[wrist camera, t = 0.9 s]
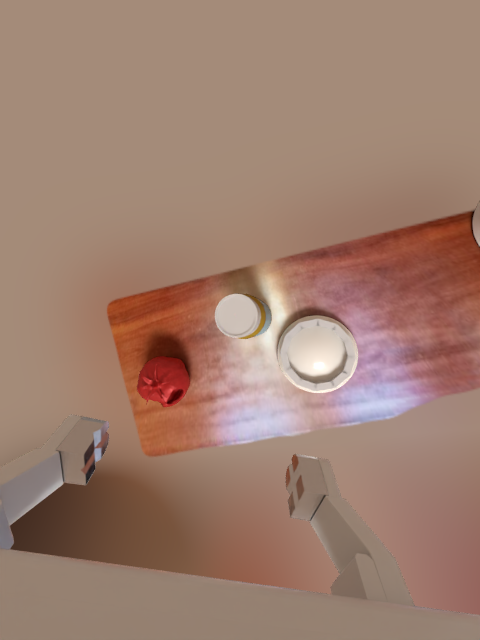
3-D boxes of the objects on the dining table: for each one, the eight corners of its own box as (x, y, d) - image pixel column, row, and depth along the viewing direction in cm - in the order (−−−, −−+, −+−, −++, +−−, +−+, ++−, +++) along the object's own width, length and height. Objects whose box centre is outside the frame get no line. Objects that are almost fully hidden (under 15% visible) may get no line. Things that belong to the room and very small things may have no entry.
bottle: (236, 299, 50) (211, 290, 36) (272, 299, 49) (261, 289, 34) (236, 335, 50) (211, 340, 36) (271, 335, 49) (260, 341, 34)
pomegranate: (147, 359, 55) (117, 365, 46) (189, 349, 53) (165, 354, 44) (156, 405, 54) (127, 420, 45) (199, 397, 52) (177, 411, 43)
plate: (367, 328, 45) (370, 328, 43) (342, 402, 46) (345, 406, 44) (290, 306, 48) (289, 305, 46) (268, 376, 49) (267, 378, 47)
